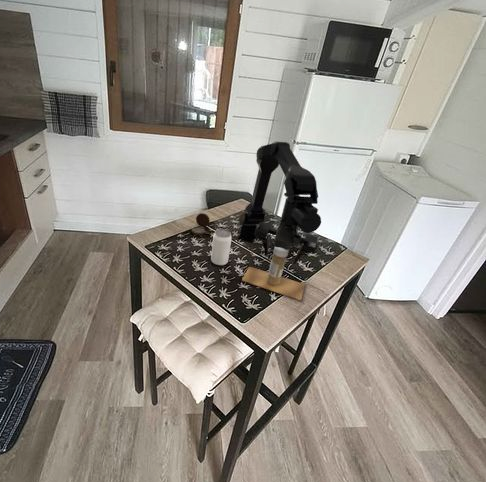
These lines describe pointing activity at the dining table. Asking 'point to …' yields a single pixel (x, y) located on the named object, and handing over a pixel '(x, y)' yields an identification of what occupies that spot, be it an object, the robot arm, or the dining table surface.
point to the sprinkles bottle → (277, 265)
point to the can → (221, 247)
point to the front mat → (284, 287)
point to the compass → (201, 224)
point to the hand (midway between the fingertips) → (279, 259)
